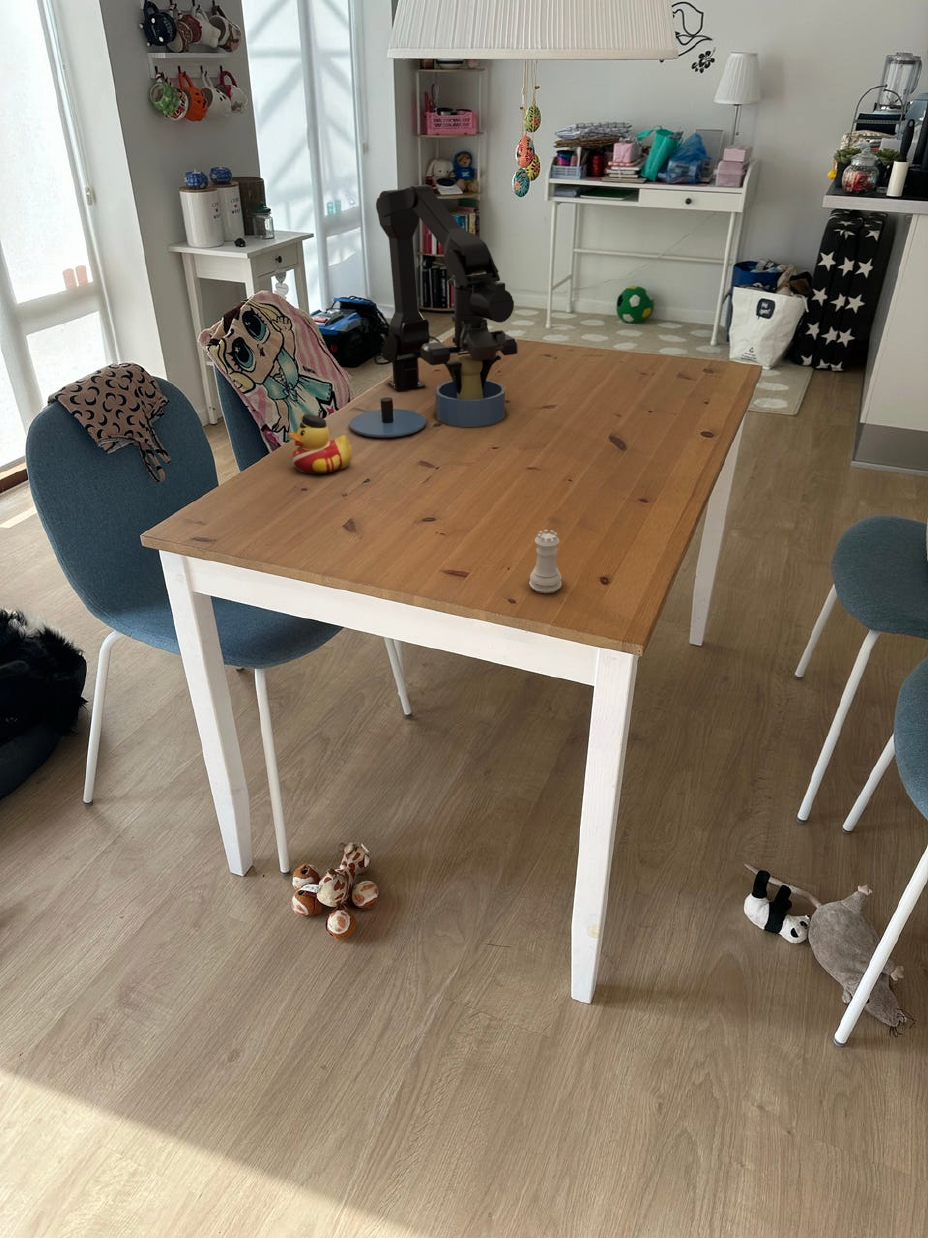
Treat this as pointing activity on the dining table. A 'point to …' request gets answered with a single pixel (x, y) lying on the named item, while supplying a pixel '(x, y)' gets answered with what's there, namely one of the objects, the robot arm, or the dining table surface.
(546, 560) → the rook chess piece
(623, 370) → the dining table surface
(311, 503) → the dining table surface
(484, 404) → the basin
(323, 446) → the toy
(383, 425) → the lid
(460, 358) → the tan pawn
